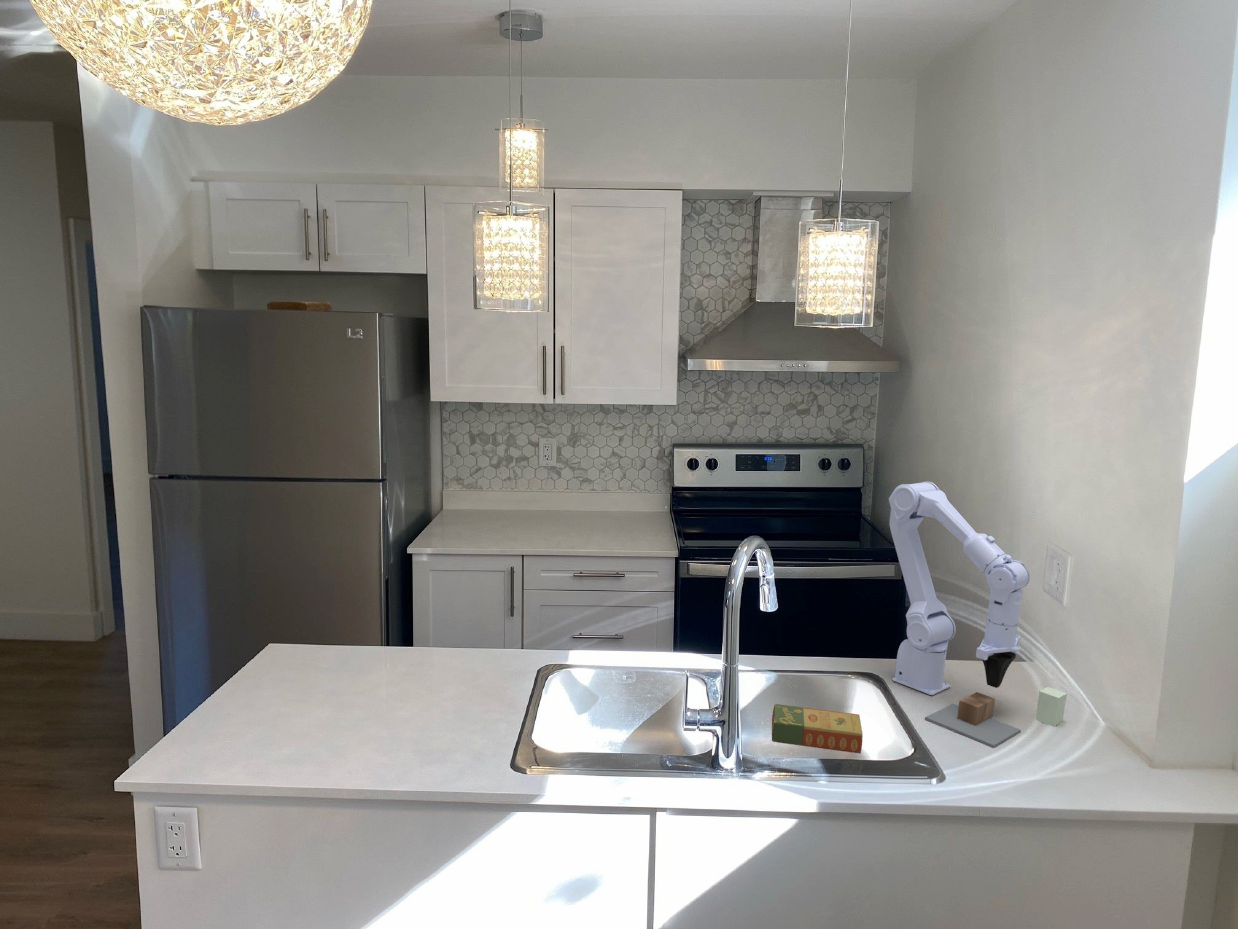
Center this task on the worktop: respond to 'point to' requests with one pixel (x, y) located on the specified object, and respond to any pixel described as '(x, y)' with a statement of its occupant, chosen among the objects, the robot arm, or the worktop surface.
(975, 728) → the mat
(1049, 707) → the sage block
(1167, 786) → the worktop surface
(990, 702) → the walnut block
